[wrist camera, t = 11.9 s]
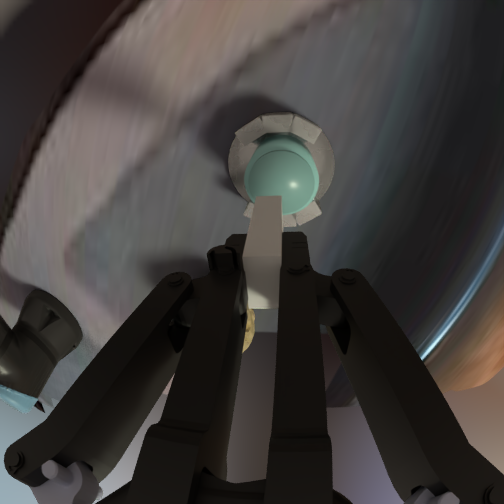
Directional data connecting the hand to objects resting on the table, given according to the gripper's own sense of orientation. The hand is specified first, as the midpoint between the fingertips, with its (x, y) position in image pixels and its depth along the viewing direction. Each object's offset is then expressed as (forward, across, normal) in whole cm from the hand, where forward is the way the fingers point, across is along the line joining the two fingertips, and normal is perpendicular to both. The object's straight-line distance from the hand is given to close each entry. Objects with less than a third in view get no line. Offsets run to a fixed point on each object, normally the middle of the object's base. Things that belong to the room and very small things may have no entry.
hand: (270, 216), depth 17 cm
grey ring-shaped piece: (+12, +1, 0) cm, 12 cm away
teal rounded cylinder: (+12, +1, 0) cm, 12 cm away
